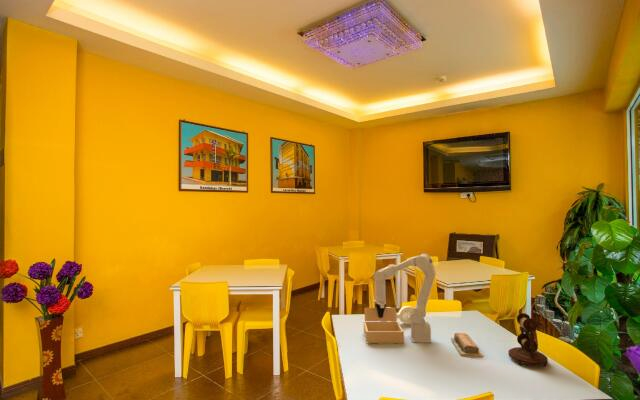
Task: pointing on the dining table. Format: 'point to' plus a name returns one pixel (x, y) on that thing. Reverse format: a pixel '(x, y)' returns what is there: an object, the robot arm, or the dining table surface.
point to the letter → (403, 314)
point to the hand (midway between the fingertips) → (380, 317)
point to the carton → (383, 332)
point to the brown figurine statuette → (527, 343)
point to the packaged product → (465, 345)
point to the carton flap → (372, 315)
